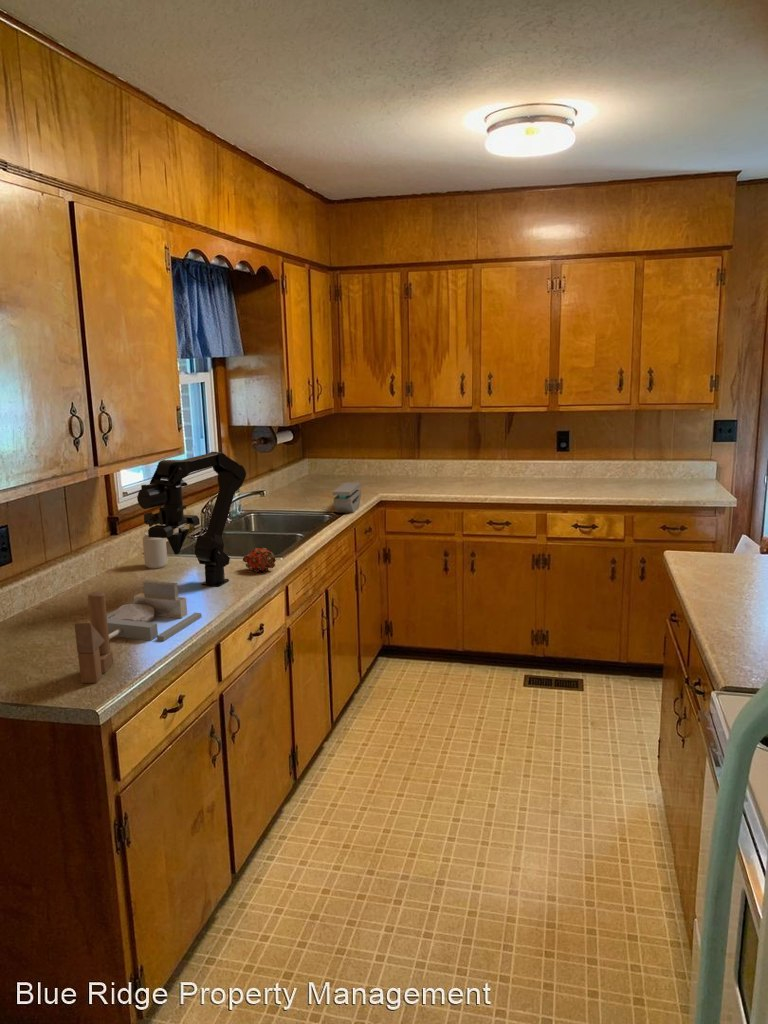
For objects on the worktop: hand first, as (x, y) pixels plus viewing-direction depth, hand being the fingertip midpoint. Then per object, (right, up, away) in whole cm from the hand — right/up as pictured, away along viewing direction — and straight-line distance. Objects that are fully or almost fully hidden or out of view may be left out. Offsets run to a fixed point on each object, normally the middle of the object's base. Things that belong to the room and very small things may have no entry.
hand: (176, 554), depth 221 cm
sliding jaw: (-1, -16, -13) cm, 21 cm away
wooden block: (-4, -25, -51) cm, 57 cm away
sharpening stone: (+45, +13, +121) cm, 130 cm away
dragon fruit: (+20, -7, +27) cm, 35 cm away
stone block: (-6, -18, -19) cm, 27 cm away
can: (-17, -6, +35) cm, 39 cm away
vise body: (-5, -19, -26) cm, 32 cm away
